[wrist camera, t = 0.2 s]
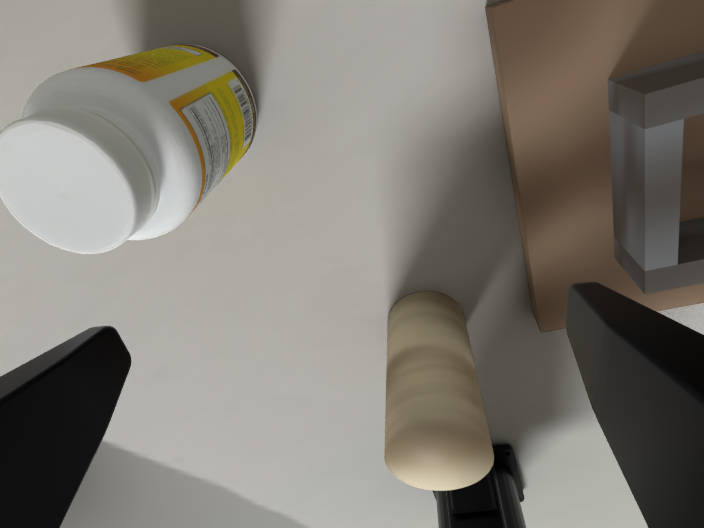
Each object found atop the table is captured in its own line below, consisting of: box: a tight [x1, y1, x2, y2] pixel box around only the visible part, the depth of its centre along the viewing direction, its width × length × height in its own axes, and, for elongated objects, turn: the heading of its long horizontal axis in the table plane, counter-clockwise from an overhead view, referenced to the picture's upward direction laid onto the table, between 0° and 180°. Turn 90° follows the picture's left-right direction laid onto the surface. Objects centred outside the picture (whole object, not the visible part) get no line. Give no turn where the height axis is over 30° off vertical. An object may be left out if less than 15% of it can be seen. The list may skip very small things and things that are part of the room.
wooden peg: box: [385, 291, 494, 491], centre depth 22 cm, size 4×4×9 cm
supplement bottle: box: [0, 44, 257, 254], centre depth 16 cm, size 6×6×10 cm
